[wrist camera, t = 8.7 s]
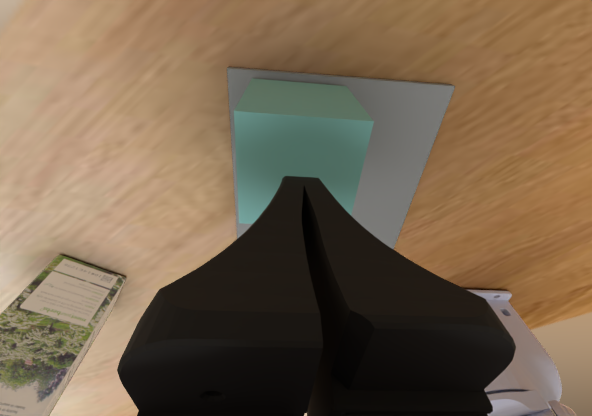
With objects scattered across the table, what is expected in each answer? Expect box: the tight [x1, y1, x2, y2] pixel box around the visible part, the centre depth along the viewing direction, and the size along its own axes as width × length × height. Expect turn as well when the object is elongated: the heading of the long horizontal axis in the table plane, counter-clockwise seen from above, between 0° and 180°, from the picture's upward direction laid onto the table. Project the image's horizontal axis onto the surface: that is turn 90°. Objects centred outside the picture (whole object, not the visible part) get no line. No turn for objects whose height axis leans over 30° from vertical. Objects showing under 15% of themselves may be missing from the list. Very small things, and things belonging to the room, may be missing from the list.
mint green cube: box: [234, 78, 374, 224], centre depth 14 cm, size 5×5×6 cm
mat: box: [227, 67, 455, 249], centre depth 20 cm, size 13×13×1 cm
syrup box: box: [0, 255, 126, 416], centre depth 20 cm, size 6×6×14 cm
